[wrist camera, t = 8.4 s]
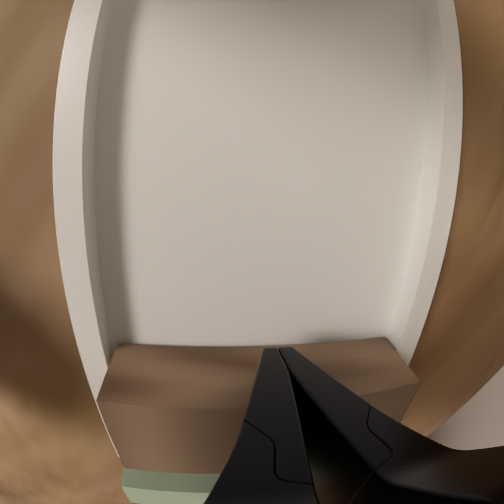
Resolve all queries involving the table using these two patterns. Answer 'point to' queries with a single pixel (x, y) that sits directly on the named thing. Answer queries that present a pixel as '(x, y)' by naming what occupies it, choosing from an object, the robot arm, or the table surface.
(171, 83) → the track
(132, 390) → the block
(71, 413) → the table surface
